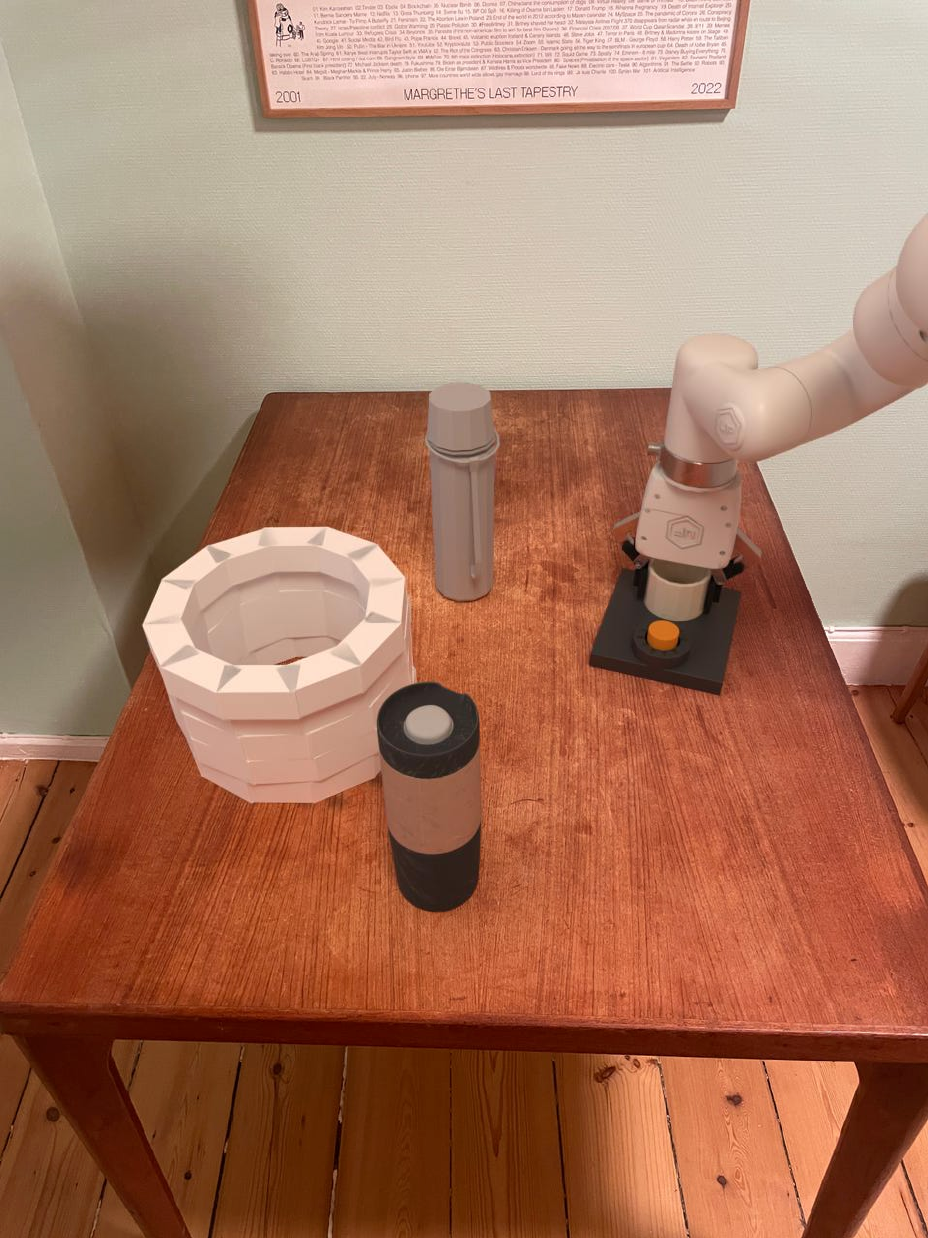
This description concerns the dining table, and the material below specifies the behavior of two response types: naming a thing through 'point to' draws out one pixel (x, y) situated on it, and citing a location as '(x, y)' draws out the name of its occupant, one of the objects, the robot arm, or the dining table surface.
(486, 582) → the water bottle
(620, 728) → the dining table surface
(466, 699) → the travel mug
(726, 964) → the dining table surface
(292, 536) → the container
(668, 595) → the bowl
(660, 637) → the button
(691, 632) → the scale
